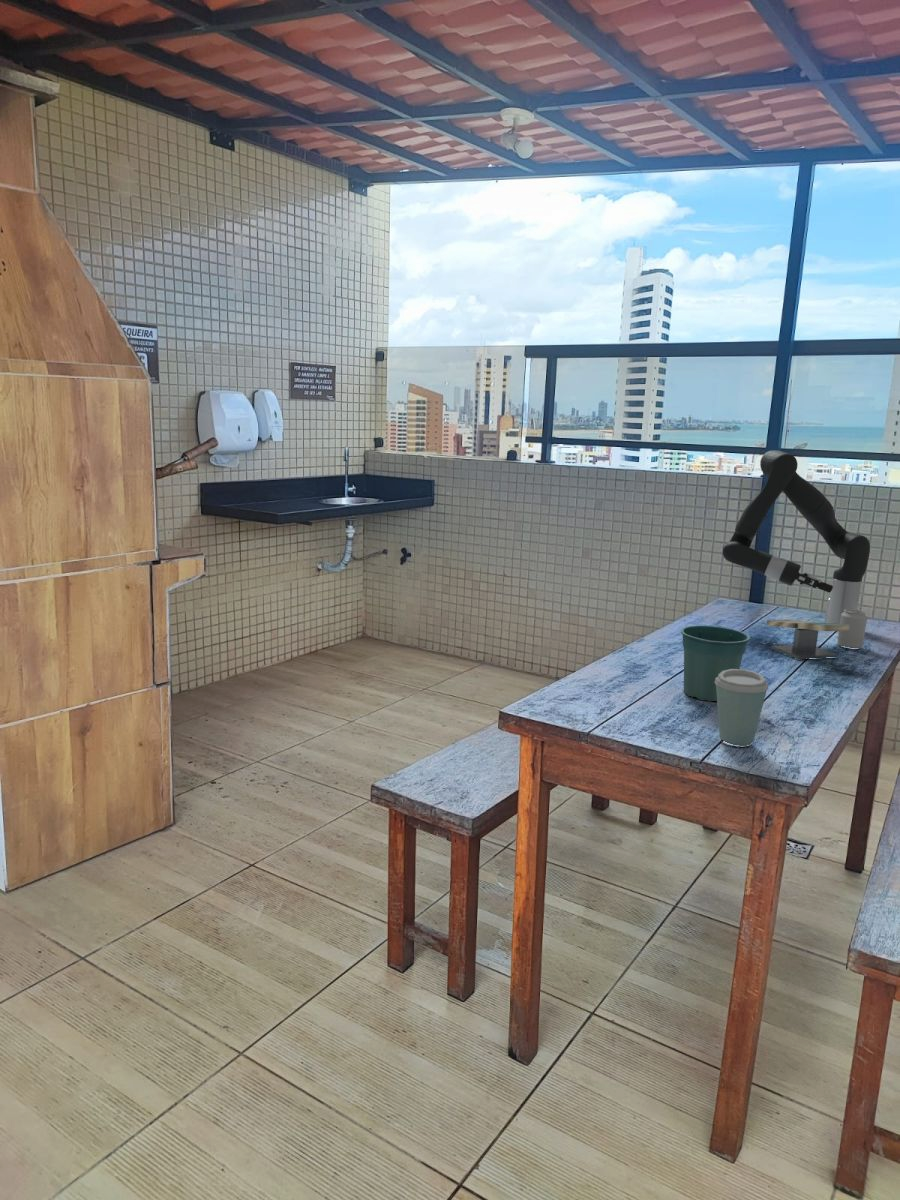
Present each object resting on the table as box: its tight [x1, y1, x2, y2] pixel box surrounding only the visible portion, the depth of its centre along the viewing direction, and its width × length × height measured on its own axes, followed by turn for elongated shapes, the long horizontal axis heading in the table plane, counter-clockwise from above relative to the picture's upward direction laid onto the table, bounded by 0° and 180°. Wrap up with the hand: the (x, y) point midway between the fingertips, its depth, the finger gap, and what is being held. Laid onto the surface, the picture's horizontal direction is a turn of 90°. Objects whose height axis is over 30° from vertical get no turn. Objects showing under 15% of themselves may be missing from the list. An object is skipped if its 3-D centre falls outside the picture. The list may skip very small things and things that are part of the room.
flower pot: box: [680, 624, 751, 702], centre depth 209 cm, size 16×16×16 cm
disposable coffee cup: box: [715, 668, 769, 746], centre depth 177 cm, size 11×11×15 cm
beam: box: [766, 619, 849, 632], centre depth 255 cm, size 26×10×2 cm, turn 18°
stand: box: [771, 628, 838, 660], centre depth 256 cm, size 12×14×8 cm
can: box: [836, 609, 868, 649], centre depth 266 cm, size 8×8×12 cm
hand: (831, 589), depth 272 cm, fingers open, 8 cm apart
